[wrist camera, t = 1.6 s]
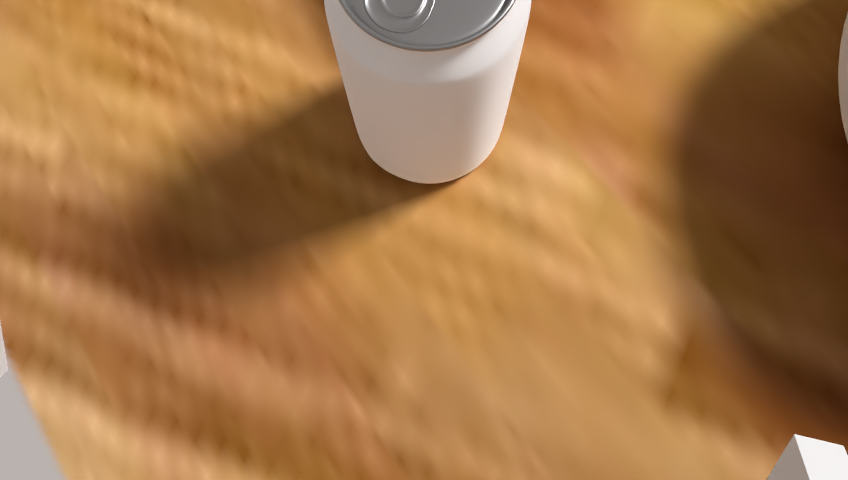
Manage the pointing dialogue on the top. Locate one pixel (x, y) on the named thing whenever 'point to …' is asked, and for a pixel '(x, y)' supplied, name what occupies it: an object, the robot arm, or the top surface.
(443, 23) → the can
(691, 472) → the top surface
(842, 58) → the serving bowl
